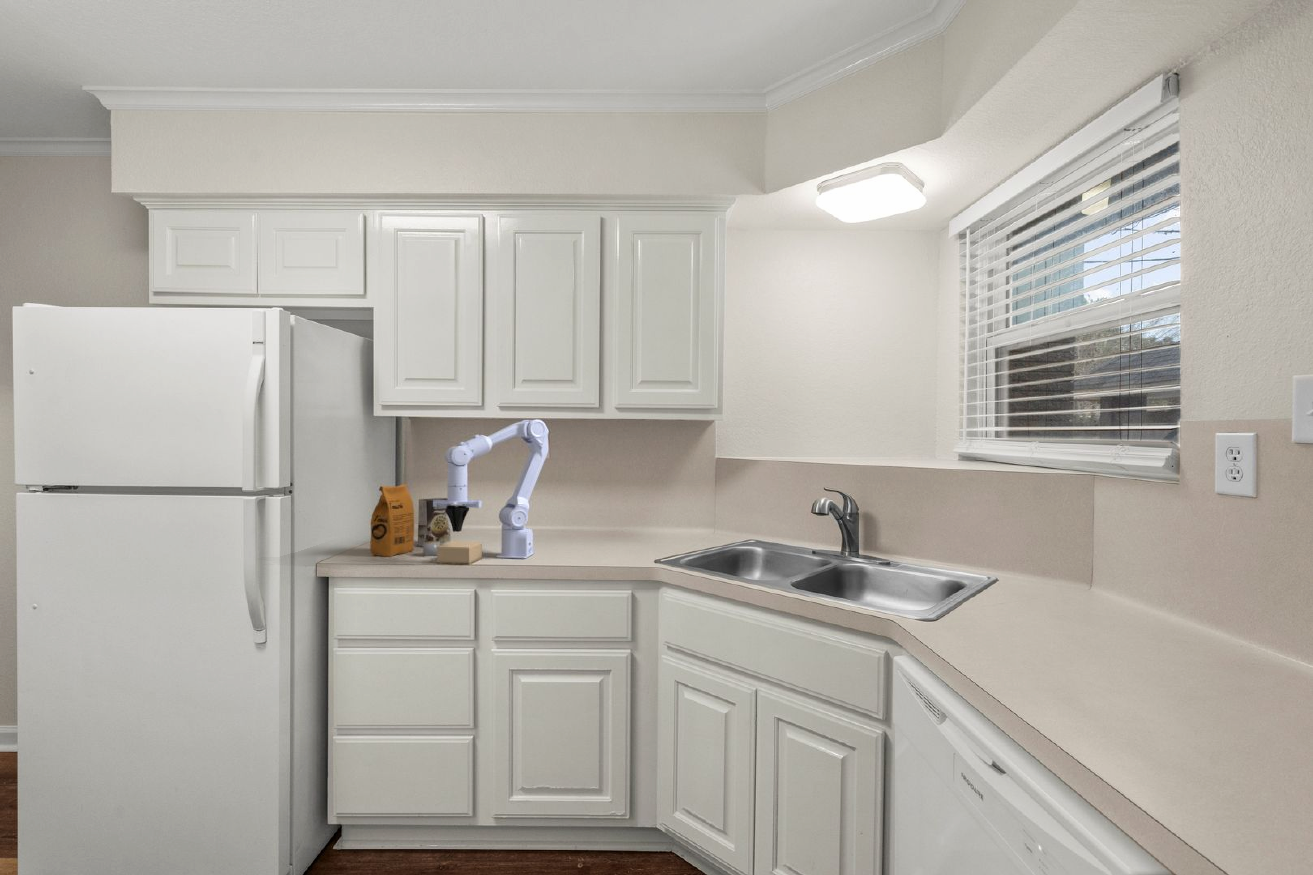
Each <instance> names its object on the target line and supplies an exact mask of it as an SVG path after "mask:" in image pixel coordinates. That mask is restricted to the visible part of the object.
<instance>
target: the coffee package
mask: <svg viewBox="0 0 1313 875" xmlns="http://www.w3.org/2000/svg"><path fill="white" fill-rule="evenodd" d="M378 490H379V492H380V493H381V495H380V496H379V500H378V503H377V504H376V505H375V507H374V510H373V512H372V514H371V520H370V545H369V546H370V548H369V551H370V553H371V555H372V556H378V557H384V558H387V557H388V558H389V557H390V556H391V557H394V556H396V555H404V554H407V553H410V552H412V551H414V546H415V543H414V542H415V541H414V540H415V509H414V503H413V500H412V497H411V495H410V493H409V489H408V488H407V484H405V483H403V484H400V485H398V486H387V485H386V486H385V485H384V486H383V485H381V486H379V489H378Z"/></svg>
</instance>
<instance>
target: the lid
mask: <svg viewBox="0 0 1313 875" xmlns="http://www.w3.org/2000/svg"><path fill="white" fill-rule="evenodd" d="M481 544H482V545H483V541H458V540H457V541H456V540H450V542H447V543H445V544H442V545H439V546H437V549H465V550H470V549H472V548H474V547H477V546H479V545H481Z"/></svg>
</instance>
